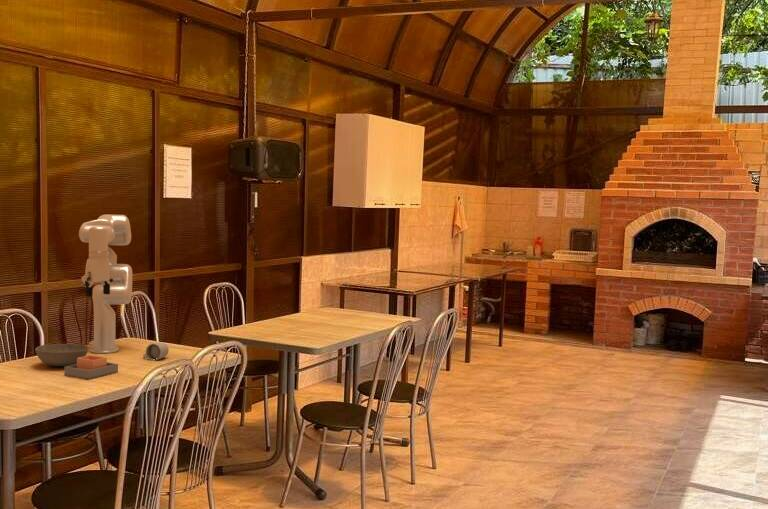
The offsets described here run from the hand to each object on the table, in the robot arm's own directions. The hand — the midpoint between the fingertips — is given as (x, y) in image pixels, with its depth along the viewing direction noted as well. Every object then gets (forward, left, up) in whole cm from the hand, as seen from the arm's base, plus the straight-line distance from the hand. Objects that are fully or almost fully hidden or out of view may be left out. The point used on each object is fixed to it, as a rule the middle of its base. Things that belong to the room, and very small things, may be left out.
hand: (98, 295), depth 320 cm
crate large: (+10, -13, -30) cm, 34 cm away
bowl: (-12, -8, -31) cm, 34 cm away
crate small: (+10, -13, -30) cm, 34 cm away
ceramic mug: (+11, +23, -31) cm, 40 cm away
